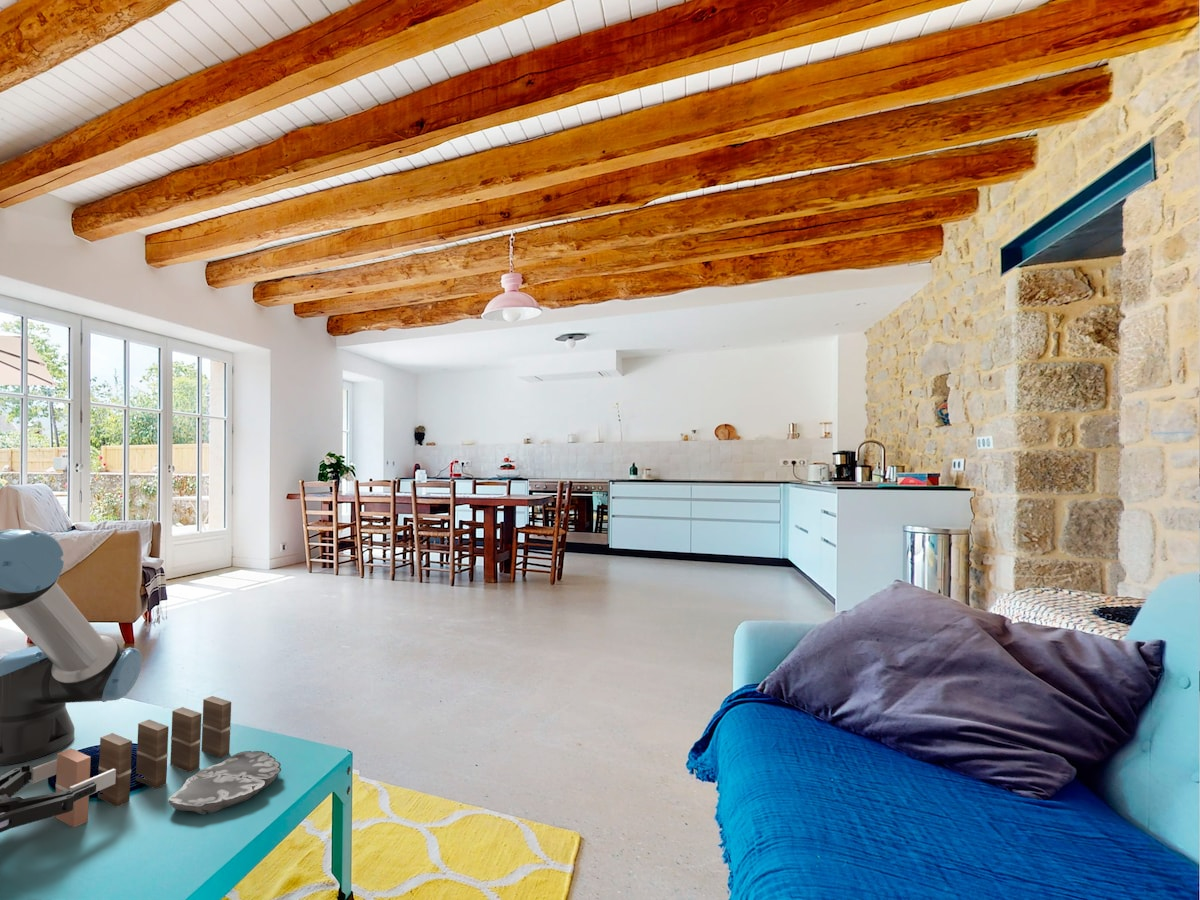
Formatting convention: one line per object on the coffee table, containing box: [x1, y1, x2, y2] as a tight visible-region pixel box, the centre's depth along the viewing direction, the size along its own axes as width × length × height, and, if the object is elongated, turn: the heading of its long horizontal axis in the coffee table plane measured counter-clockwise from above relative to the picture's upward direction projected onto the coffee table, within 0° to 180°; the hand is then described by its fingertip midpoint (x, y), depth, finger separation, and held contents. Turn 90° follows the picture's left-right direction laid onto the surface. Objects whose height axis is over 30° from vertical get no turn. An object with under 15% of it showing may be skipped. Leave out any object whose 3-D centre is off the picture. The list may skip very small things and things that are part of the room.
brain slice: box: [168, 750, 282, 815], centre depth 112 cm, size 20×17×3 cm
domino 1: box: [54, 748, 92, 828], centre depth 102 cm, size 2×7×12 cm, turn 67°
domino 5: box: [200, 695, 232, 759], centre depth 126 cm, size 2×7×12 cm, turn 67°
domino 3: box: [135, 719, 169, 790], centre depth 114 cm, size 2×7×12 cm, turn 67°
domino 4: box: [169, 706, 203, 773], centre depth 120 cm, size 2×7×12 cm, turn 67°
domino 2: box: [97, 732, 133, 808], centre depth 108 cm, size 2×7×12 cm, turn 67°
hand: (95, 767), depth 105 cm, fingers open, 13 cm apart
